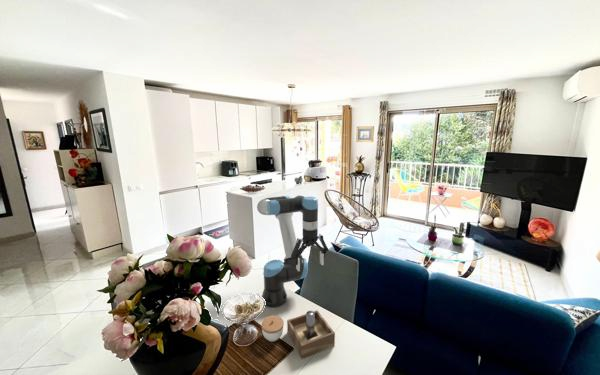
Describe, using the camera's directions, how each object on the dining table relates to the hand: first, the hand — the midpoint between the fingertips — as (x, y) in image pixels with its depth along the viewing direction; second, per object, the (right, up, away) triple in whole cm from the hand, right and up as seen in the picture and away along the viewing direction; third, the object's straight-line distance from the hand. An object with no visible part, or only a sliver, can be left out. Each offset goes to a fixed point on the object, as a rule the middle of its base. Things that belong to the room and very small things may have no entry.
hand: (310, 267), depth 128 cm
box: (0, -33, -7) cm, 34 cm away
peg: (0, -33, -7) cm, 33 cm away
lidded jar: (-19, -33, -5) cm, 38 cm away
